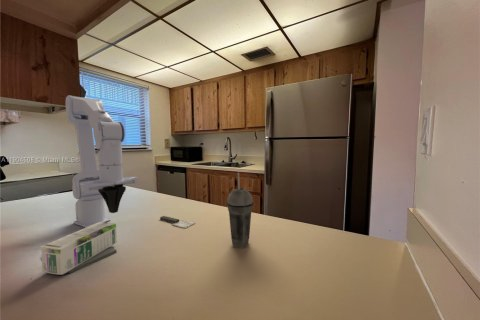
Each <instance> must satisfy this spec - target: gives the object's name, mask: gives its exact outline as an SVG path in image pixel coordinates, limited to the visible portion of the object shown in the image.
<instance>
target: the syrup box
mask: <svg viewBox="0 0 480 320" xmlns="http://www.w3.org/2000/svg"><path fill="white" fill-rule="evenodd" d="M117 243H118V239H117V223H114V222H113V223H112V222H104V223H103V222H98V223H96V224H94V225H91V226H89V227H87V228H85V227H83V228H82V229H79V230H77V231H75V232H73V233H70V234H68V235H66V236H65V235H64V236H63V237H60V238H58V239H55V240H53V241H51V242H48V243H46V244H44V245H41V246H40V251H41V271H42V272H43V273H47V274H52V275H64V274H67V273H68V271H70V270H72V269H73V268H75V267H77V266H78V265H80V264H82V263H83V262H85V261H87V260H88V259H90V258H92V257H93V256H95V255H97V254H98V253H100V252H102V251H104V250H105V249H107V248H109V247H111V248H112V246H114V245H116V244H117Z"/></svg>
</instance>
